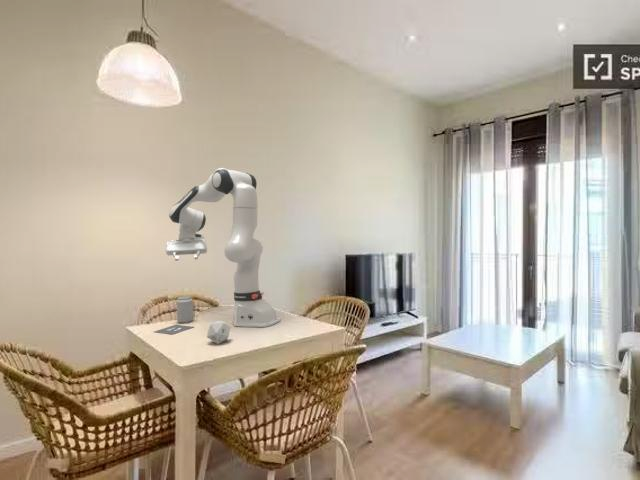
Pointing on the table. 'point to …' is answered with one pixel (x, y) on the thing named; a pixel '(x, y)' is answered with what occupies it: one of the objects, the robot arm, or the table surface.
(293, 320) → the table surface
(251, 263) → the robot arm
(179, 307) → the can
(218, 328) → the die
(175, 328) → the mat
